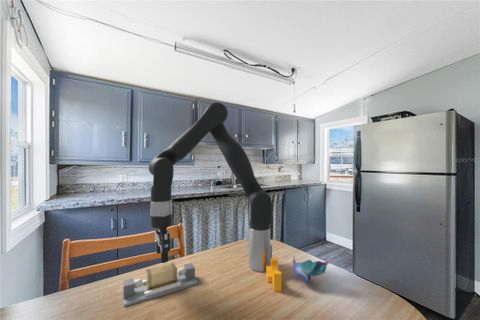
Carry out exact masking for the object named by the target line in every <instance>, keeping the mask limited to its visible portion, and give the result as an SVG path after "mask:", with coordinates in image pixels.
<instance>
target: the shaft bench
mask: <svg viewBox="0 0 480 320" xmlns="http://www.w3.org/2000/svg"><path fill="white" fill-rule="evenodd" d="M122 282H123V287H122V294H123V307H124V308H126V307H129V306H132V305H135V304H138V303H141V302H142V303H143V302H144V301H149V300H151V299H154V298H158V297H161V296H164V295H167V294H171V293H173V292H177V291H181V290H184V289H186V288H190V287H193V286H196V285H198V283H199V281H198V280H197V278H196V267H195V265H194V264H193V263H192V262H190V263H186V264H184V266H182V267H179V268H177V282H176V283H173V284H169V285H166V286H163V287H159V288H156V289H153V290H149V291H147V288H146V279H144V280H143V278H137V279H134V277H132V278H128V279H123V281H122Z"/></svg>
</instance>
